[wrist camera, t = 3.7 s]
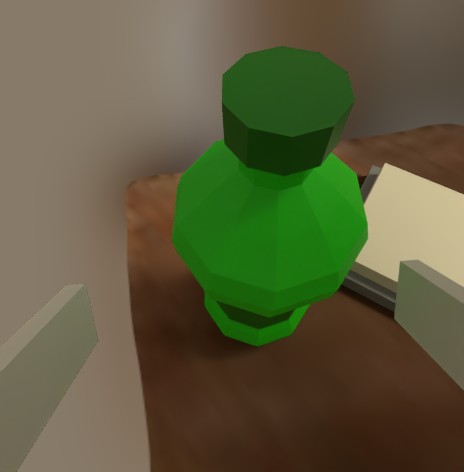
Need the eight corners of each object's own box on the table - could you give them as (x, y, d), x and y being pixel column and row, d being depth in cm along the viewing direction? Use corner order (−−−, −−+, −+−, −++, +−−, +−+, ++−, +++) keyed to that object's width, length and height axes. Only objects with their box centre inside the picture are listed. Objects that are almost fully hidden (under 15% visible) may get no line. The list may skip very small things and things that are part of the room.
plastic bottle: (246, 377, 29) (267, 314, 7) (186, 289, 33) (74, 65, 11) (325, 313, 31) (533, 112, 9) (261, 238, 35) (296, -27, 13)
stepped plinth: (494, 229, 35) (522, 210, 32) (462, 348, 30) (492, 341, 26) (367, 175, 39) (379, 153, 36) (316, 271, 33) (325, 256, 30)
